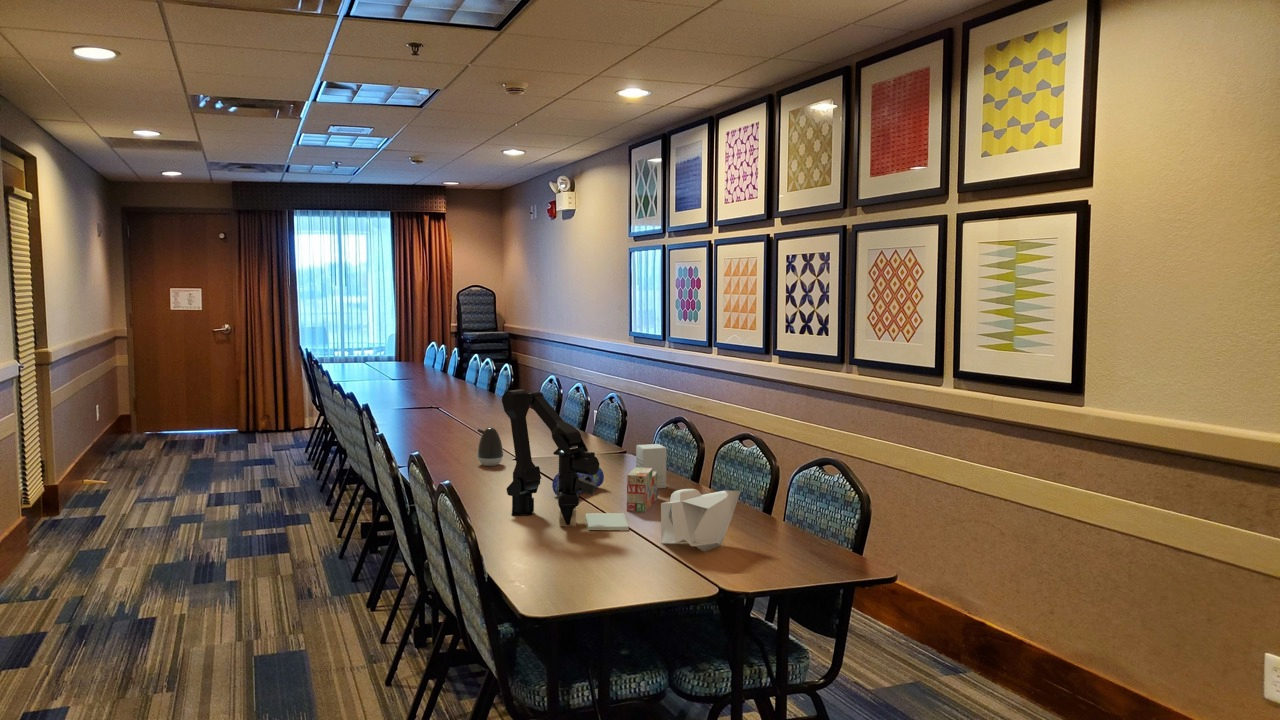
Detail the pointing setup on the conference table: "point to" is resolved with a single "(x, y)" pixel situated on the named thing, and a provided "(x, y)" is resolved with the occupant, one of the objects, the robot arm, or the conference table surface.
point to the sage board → (606, 521)
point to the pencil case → (596, 478)
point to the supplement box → (653, 460)
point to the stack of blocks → (641, 489)
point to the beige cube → (562, 521)
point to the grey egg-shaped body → (490, 447)
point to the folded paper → (697, 517)
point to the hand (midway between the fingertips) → (567, 520)
